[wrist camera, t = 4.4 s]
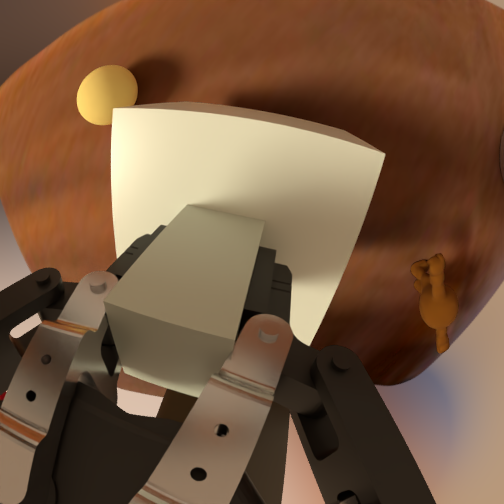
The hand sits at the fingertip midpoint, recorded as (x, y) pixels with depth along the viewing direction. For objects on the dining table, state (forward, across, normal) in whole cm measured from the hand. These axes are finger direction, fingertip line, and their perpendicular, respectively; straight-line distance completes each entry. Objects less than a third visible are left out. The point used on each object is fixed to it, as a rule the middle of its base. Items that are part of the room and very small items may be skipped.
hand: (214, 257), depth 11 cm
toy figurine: (+12, -18, +5) cm, 22 cm away
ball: (+9, +12, -6) cm, 17 cm away
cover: (+10, 0, 0) cm, 10 cm away
